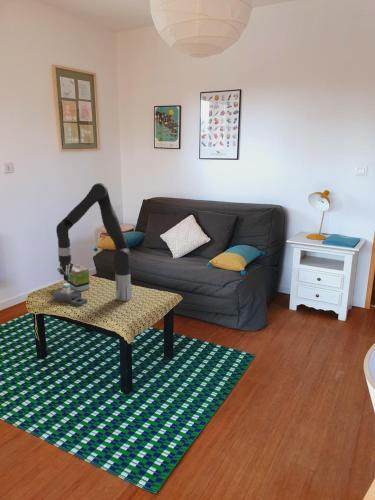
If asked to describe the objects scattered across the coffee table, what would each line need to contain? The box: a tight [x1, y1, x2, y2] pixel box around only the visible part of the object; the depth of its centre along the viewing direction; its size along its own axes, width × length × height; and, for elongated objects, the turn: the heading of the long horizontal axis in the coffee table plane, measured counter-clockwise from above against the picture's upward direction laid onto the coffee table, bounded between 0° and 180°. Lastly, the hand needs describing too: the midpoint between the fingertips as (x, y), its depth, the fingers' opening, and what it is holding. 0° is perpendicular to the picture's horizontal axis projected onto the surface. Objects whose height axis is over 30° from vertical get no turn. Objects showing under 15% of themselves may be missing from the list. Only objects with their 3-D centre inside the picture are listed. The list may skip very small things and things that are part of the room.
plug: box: [61, 282, 71, 293], centre depth 245 cm, size 3×3×9 cm
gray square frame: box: [70, 297, 88, 307], centre depth 240 cm, size 7×7×2 cm
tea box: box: [66, 263, 90, 292], centre depth 264 cm, size 15×10×15 cm
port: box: [52, 287, 83, 304], centre depth 246 cm, size 14×10×5 cm
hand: (66, 280), depth 243 cm, fingers closed
